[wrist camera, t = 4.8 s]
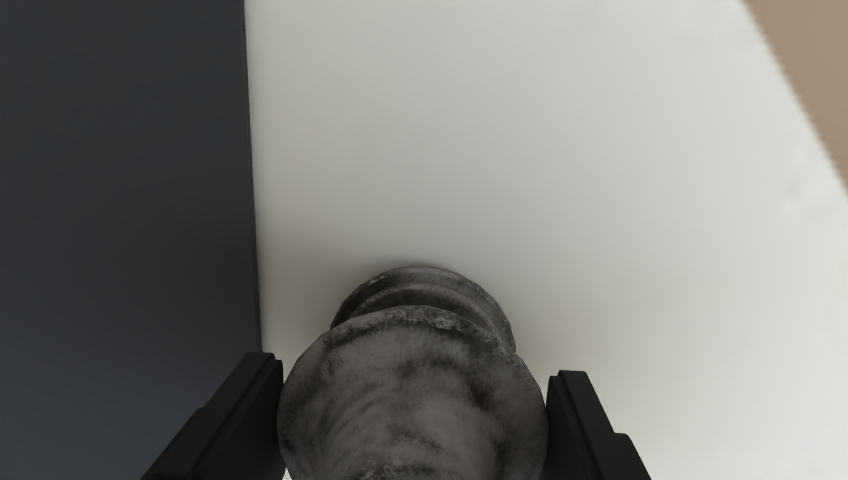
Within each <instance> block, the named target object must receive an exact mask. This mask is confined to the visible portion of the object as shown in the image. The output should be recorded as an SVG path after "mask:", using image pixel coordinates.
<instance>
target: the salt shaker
mask: <svg viewBox="0 0 848 480" xmlns="http://www.w3.org/2000/svg"><path fill="white" fill-rule="evenodd" d="M276 424H277V436H278V444H279V451H280V453H281V455H282V458H283V460H284V462H285V465H286V467H287V469H288V472H289V474H290V477H291V479H292V480H538V479H539V477H540V474H541V471H542V469H543V466H544V463H545V460H546V456H547V447H548V437H549V419H548V415H547V411H546V408H545V404H544V400H543V396H542V393H541V389H540V387H539V386H538V384H537V382H536V381H535V379H534V377H533V376H532V374H531V373H530V371H529V369H528V368H527V366H526V364H525V363H524V361H523V360H522V359H521V358H520V357H519V356H518V355H517V354H516V346H515V342H514V338H513V335H512V331H511V327H510V324H509V321H508V320H507V318H506V317H505V315H504V313H503V312H502V310H501V308H500V307H499V305H498V303H497V302H496V301H495V300H494V299H493V298H492V297H491V296H490V295H488V294H487V293H486V292H485V291H484V290H483V289H482V288H481V287H480V286H479V285H477V284H475V283H473V282H471V281H470V280H468V279H466V278H464V277H462V276H460V275H458V274H456V273H453V272H449V271H445V270H441V269H437V268H432V267H404V268H401V269H397V270H393V271H389V272H385V273H382V274H379V275H378V276H376V277H374V278H372V279H371V280H369V281H367V282H365V283H364V284H362V285H360V286H359V287H358V288H357V289H356V290H355V291H354V292H353V293H352V294H351V295H350V296H349V297H348V298H347V299H346V300H345V301H344V302H343V303H342V305H341V307H340V309H339V311H338V312H337V314H336V316H335V318H334V320H333V322H332V324H331V327H330V331H328V332H326V333H324V334H322V335H321V336H320V337H319V338H318V339H317V340H316V341H315V342H314V343H313V344H312V345H311V346H310V347H309V348H308V349H307V350H306V351H305V352H304V353H303V354H302V355H301V356H300V357H299V358H298V359H297V361H296V362H295V364H294V366H293V368H292V370H291V372H290V374H289V376H288V378H287V379H286V381H285V383H284V385H283V387H282V389H281V393H280V399H279V404H278V409H277V415H276Z"/></svg>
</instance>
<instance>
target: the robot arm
mask: <svg viewBox="0 0 848 480" xmlns="http://www.w3.org/2000/svg"><path fill="white" fill-rule="evenodd" d="M283 385H284V380H283V363H282V361H281V360H277V359H275V356H274V354H273V353H265V352H247V353H246V354H245V355H244V357H243V358H242V359H241V360H240V362H239V363H238V364H237V365H236V367H235V368H234V369H233V370H232V372H231V373H230V374H229V376H228V377H227V378H226V379H225V381H224V382H223V383H222V384H221V386H220V387H219V388H218V389H217V391H216V392H215V393H214V395H213V396H212V397H211V398H210V400H209V401H208V402H207V403H206V405H205V406H204V407H200V408H198V409H197V410H196V411H195V412H194V413H193V414H192V416H191V417H190V418H189V419H188V421H187V422H186V423H185V424H184V426H183V427H182V428H181V429H180V431H179V432H178V433H177V434H176V435H175V437H174V438H173V439H172V440H171V442H170V443H169V444H168V445H167V447H166V448H165V449H164V450H163V452H162V453H161V454H160V455H159V457H158V458H157V459H156V460H155V462H154V463H153V464H152V465H151V466H150V468H149V469H148V470H147V471H146V473H145V474H144V475H143V476H142V478H141V479H140V480H282V479H283V476H284V474H285V470H286V465H285V462H284V460H283V458H282V455H281V453H280V451H279V444H278V436H277V424H276V415H277V409H278V404H279V399H280V393H281V389H282V387H283ZM546 411H547V415H548V419H549V437H548V447H547V456H546V460H545V463H544V466H543V469H542V471H541V474H540V477H539V479H538V480H651V478H650V476H649V474H648V472H647V470H646V468H645V466H644V464H643V462H642V460H641V458H640V456H639V454H638V452H637V450H636V448H635V446H634V445H633V443H632V441H631V439H630V438H629V436H628V435H626V434H624V433H615V432H614V430H613V428H612V426H611V424H610V422H609V420H608V418H607V415H606V413H605V411H604V409H603V407H602V405H601V403H600V401H599V399H598V396H597V394H596V392H595V390H594V388H593V386H592V384H591V382H590V380H589V378H588V375H587V374H586V372H584V371H570V370H559V372H558V375H557V376H550V378H549V382H548V391H547V399H546Z"/></svg>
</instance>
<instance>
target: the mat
mask: <svg viewBox="0 0 848 480" xmlns="http://www.w3.org/2000/svg"><path fill="white" fill-rule="evenodd" d="M247 352H261V334H260V314H259V294H258V275H257V255H256V235H255V215H254V195H253V176H252V156H251V136H250V116H249V97H248V77H247V57H246V37H245V18H244V0H0V480H140V479H141V478H142V476H143V475H144V474H145V473H146V471H147V470H148V469H149V468H150V466H151V465H152V464H153V463H154V462H155V460H156V459H157V458H158V457H159V455H160V454H161V453H162V452H163V450H164V449H165V448H166V447H167V445H168V444H169V443H170V442H171V440H172V439H173V438H174V437H175V435H176V434H177V433H178V432H179V431H180V429H181V428H182V427H183V426H184V424H185V423H186V422H187V421H188V419H189V418H190V417H191V416H192V414H193V413H194V412H195V411H196V410H197V409H198V408H200V407H204V406H205V405H206V403H207V402H208V401H209V400H210V398H211V397H212V396H213V395H214V393H215V392H216V391H217V389H218V388H219V387H220V386H221V384H222V383H223V382H224V381H225V379H226V378H227V377H228V376H229V374H230V373H231V372H232V370H233V369H234V368H235V367H236V365H237V364H238V363H239V362H240V360H241V359H242V358H243V357H244V355H245V354H246V353H247Z"/></svg>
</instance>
